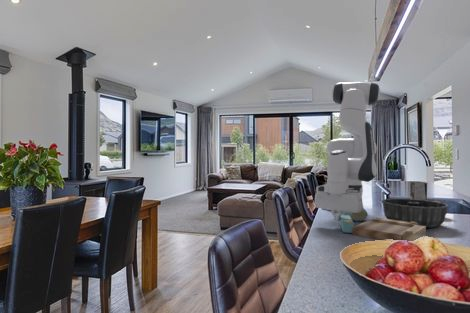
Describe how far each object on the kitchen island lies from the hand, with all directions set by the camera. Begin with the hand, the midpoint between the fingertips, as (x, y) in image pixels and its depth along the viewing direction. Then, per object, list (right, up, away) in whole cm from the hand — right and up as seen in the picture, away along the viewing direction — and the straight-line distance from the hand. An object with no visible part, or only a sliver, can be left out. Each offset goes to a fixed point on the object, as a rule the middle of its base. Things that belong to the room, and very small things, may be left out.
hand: (337, 220), depth 148 cm
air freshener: (+13, -3, +15) cm, 20 cm away
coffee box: (+53, -2, +35) cm, 64 cm away
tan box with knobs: (+17, -3, -13) cm, 22 cm away
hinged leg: (+3, -2, -3) cm, 5 cm away
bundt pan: (+36, -3, +6) cm, 37 cm away
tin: (+52, -3, +21) cm, 56 cm away
